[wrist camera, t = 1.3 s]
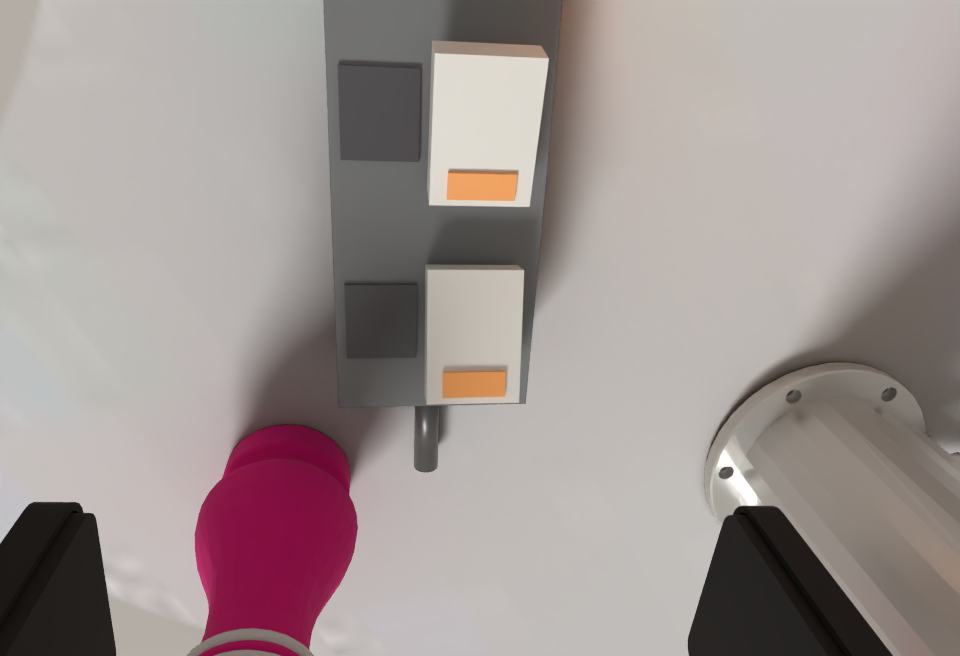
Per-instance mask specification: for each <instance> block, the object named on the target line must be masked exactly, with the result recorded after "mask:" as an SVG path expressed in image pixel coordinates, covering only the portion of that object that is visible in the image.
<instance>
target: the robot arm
mask: <svg viewBox="0 0 960 656" xmlns="http://www.w3.org/2000/svg"><path fill="white" fill-rule="evenodd" d="M704 488H705V493H706V499H707V502H708V504H709V506H710V508H711V511H712V513H713V515H714V516H715V518H716V519H717V521H718V522H719V524H720V525H721V527H722V528H721V531H720V534H719V538H718V541H717V544H716V547H715V551H714V554H713V557H712V561H711V564H710V567H709V571H708V574H707V577H706V580H705V584H704V587H703V590H702V594H701V597H700V600H699V604H698V607H697V610H696V613H695V617H694V620H693V623H692V627H691V630H690V633H689V637H688V652H689V656H960V452H957V453H953V454H949V453H948V452H947V451H945V450H944V449H943V448H942V447H940V446H939V445H938V444H937V443H936V442H934V441H933V440H932V439H931V438H929V437H928V436H927V435H926V434H925V422H924V418H923V414H922V410H921V408H920V407H919V405H918V403H917V401H916V400H915V398H914V396H913V395H912V394H911V393H910V392H909V391H908V390H907V389H906V388H905V387H904V386H903V385H902V384H900V383H899V382H897V381H896V380H895V379H893V378H892V377H890V376H889V375H888V374H886V373H885V372H882V371H880V370H877V369H875V368H873V367H870V366H867V365H861V364H856V363H850V362H845V363H825V364H820V365H814V366H809V367H806V368H803V369H800V370H797V371H794V372H792V373H789V374H786V375H784V376H782V377H781V378H779V379H777V380H775V381H773V382H771V383H769V384H767V385H766V386H764V387H763V388H762V389H760V390H759V391H758V392H756V393H755V394H753V395H752V396H751V397H749V398H748V399H747V400H746V401H745V402H744V403H743V404H742V405H741V406H740V407H739V408H738V409H737V410H736V411H735V412H734V413H733V414H732V415H731V416H730V418H729V419H728V420H727V422H726V423H725V424H724V426H723V427H722V429H721V430H720V431H719V433H718V435H717V437H716V439H715V441H714V443H713V445H712V447H711V449H710V452H709V455H708V459H707V463H706V466H705V477H704ZM0 656H116V647H115V641H114V634H113V628H112V621H111V615H110V608H109V601H108V594H107V588H106V581H105V575H104V568H103V561H102V555H101V548H100V542H99V535H98V528H97V522H96V518H95V516H94V514H92V513H83V509H82V507H81V505H80V504H79V503H76V502H33V503H31V504H29V505H28V506H27V507H26V508H25V510H24V511H23V512H22V514H21V515H20V517H19V518H18V520H17V521H16V522H15V524H14V525H13V527H12V528H11V529H10V531H9V532H8V534H7V535H6V537H5V538H4V539H3V541H2V542H1V544H0Z"/></svg>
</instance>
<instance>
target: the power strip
mask: <svg viewBox="0 0 960 656" xmlns="http://www.w3.org/2000/svg"><path fill="white" fill-rule="evenodd" d="M561 10H562V0H324V27H325V54H326V81H327V107H328V134H329V161H330V188H331V214H332V241H333V268H334V295H335V321H336V348H337V375H338V401H339V408H346V407H393V406H415V436H414V467H415V469H416V470H418V471H420V472H431V471H434V470H435V469H436V468H437V463H438V432H439V406H440V405H487V404H526V394H527V383H528V372H529V361H530V350H531V339H532V328H533V317H534V306H535V295H536V284H537V273H538V262H539V251H540V240H541V229H542V218H543V208H544V197H545V186H546V175H547V164H548V153H549V142H550V131H551V120H552V109H553V98H554V87H555V76H556V65H557V54H558V43H559V32H560V21H561ZM432 40H435V41H456V42H476V43H497V44H518V45H538V46H542V48H543V50H544V51H545V53H546V54H547V56H548V58H549V62H548V70H547V77H546V85H545V93H544V100H543V108H542V115H541V123H540V131H539V138H538V146H537V153H536V161H535V169H534V176H533V184H532V191H531V199H530V207H502V206H442V205H429V200H428V192H427V172H428V144H429V115H430V86H431V58H432ZM425 264H440V265H518V266H519V267H521V268H522V269H523V270H524V289H523V315H522V341H521V367H520V392H519V403H479V404H432V405H427V404H426V399H425V393H424V392H425Z"/></svg>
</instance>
